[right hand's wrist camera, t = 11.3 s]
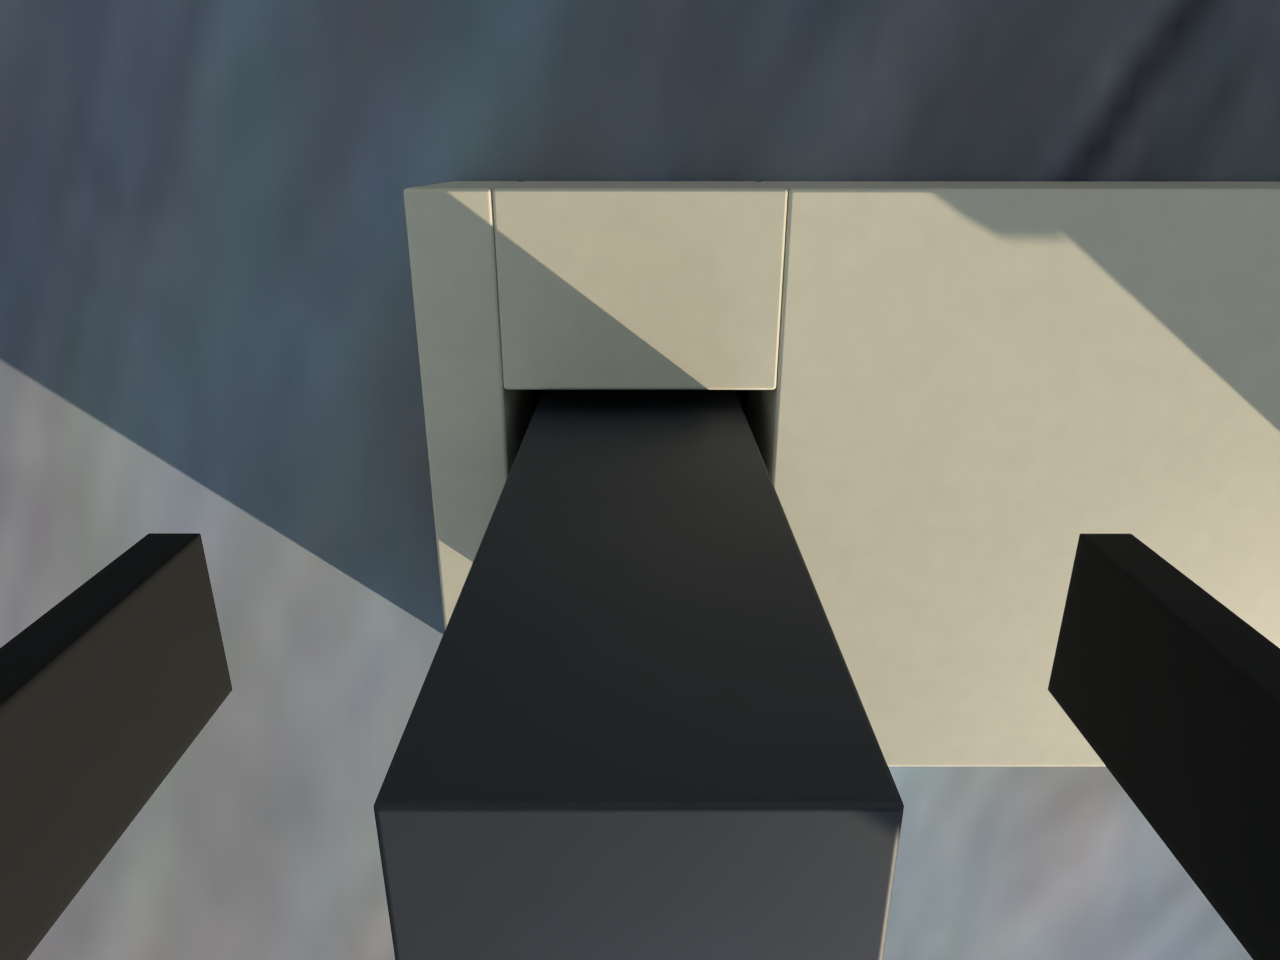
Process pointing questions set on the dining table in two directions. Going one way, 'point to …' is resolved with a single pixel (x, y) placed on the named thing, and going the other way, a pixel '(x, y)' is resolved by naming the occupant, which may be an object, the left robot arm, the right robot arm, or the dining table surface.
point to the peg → (638, 716)
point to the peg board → (896, 397)
